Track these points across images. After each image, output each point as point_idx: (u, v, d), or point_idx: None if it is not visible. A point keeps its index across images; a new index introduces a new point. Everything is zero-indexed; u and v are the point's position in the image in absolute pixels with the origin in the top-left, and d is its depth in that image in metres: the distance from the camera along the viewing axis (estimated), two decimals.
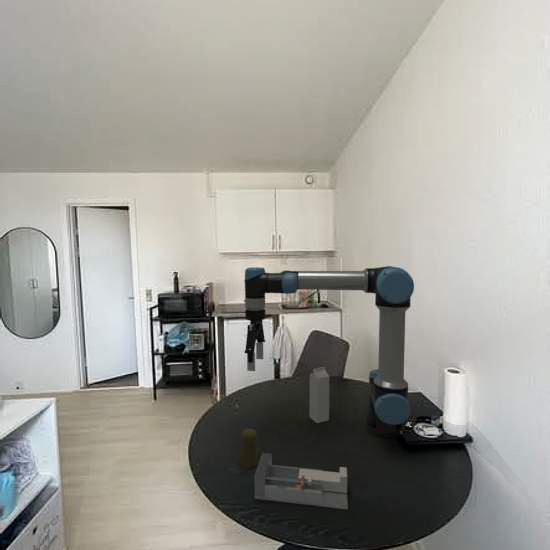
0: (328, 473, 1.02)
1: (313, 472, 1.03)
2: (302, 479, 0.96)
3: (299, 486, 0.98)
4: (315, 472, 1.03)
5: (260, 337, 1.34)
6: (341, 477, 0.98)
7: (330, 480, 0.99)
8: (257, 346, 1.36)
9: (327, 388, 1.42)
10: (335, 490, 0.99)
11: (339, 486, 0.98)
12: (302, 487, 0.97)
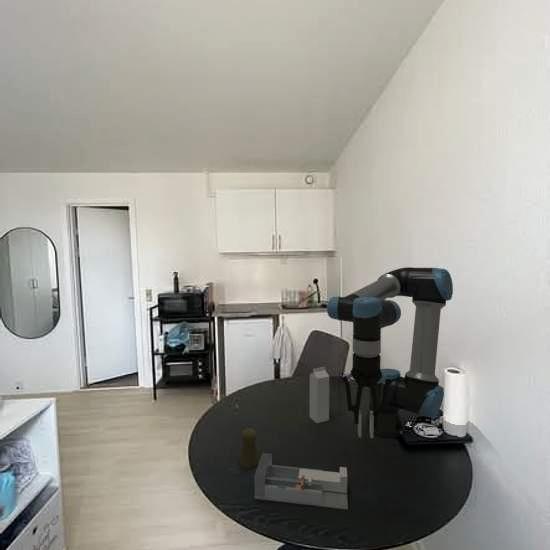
0: (328, 473, 1.02)
1: (313, 472, 1.03)
2: (302, 479, 0.96)
3: (299, 486, 0.98)
4: (315, 472, 1.03)
5: (372, 402, 0.95)
6: (341, 477, 0.98)
7: (330, 480, 0.99)
8: None
9: (327, 388, 1.42)
10: (335, 490, 0.99)
11: (339, 486, 0.98)
12: (302, 487, 0.97)
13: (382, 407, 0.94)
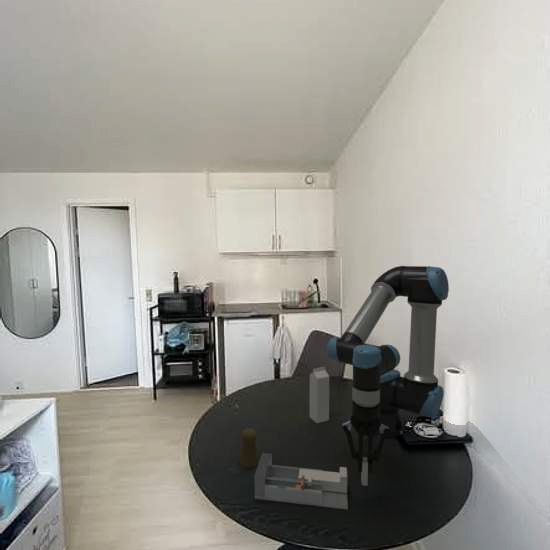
0: (328, 473, 1.02)
1: (313, 472, 1.03)
2: (302, 479, 0.96)
3: (299, 486, 0.98)
4: (315, 472, 1.03)
5: (367, 450, 0.96)
6: (341, 477, 0.98)
7: (330, 480, 0.99)
8: None
9: (327, 388, 1.42)
10: (335, 490, 0.99)
11: (339, 486, 0.98)
12: (302, 487, 0.97)
13: (377, 455, 0.95)
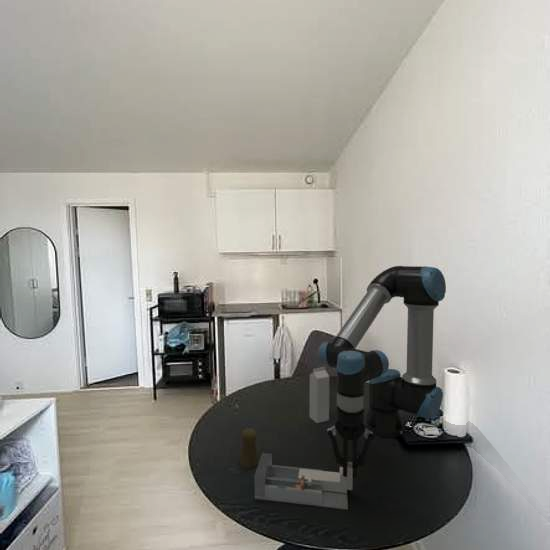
0: (328, 473, 1.02)
1: (313, 472, 1.03)
2: (302, 479, 0.96)
3: (299, 486, 0.98)
4: (315, 472, 1.03)
5: (352, 454, 0.97)
6: (341, 477, 0.98)
7: (330, 480, 0.99)
8: None
9: (327, 388, 1.42)
10: (335, 490, 0.99)
11: (339, 486, 0.98)
12: (302, 487, 0.97)
13: (361, 460, 0.96)
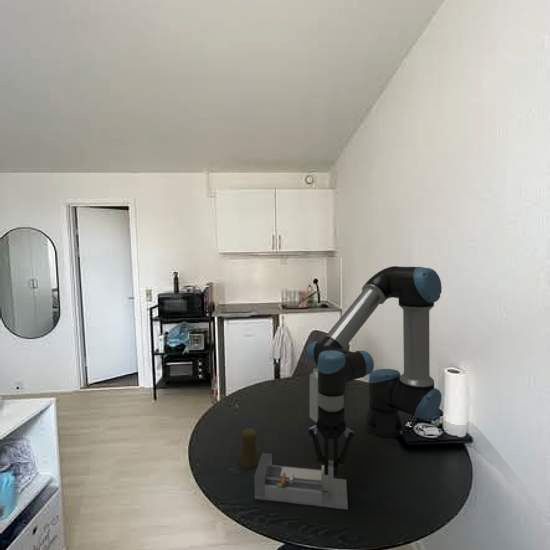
0: (310, 471, 1.03)
1: (295, 470, 1.04)
2: (283, 477, 0.97)
3: (280, 484, 0.99)
4: (297, 470, 1.04)
5: (333, 453, 0.98)
6: (322, 475, 0.99)
7: (312, 478, 1.00)
8: None
9: None
10: None
11: None
12: (283, 485, 0.97)
13: (342, 459, 0.97)
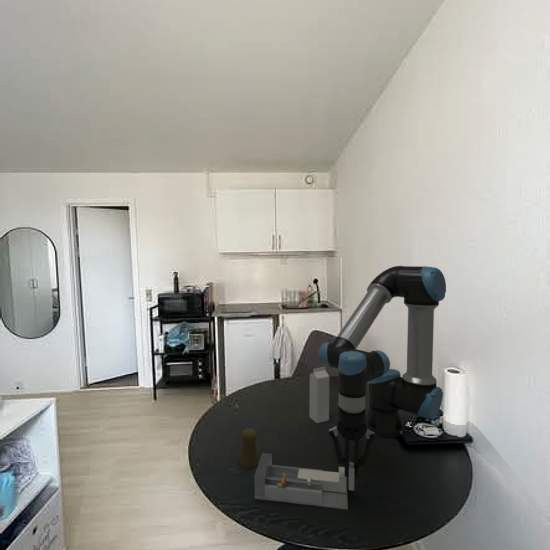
0: (327, 473, 1.02)
1: (312, 472, 1.03)
2: (283, 477, 0.97)
3: (280, 484, 0.99)
4: (314, 471, 1.03)
5: (354, 455, 0.97)
6: (340, 477, 0.98)
7: (329, 480, 0.99)
8: None
9: (327, 388, 1.42)
10: (334, 490, 0.99)
11: (338, 486, 0.98)
12: (283, 485, 0.97)
13: (363, 461, 0.96)
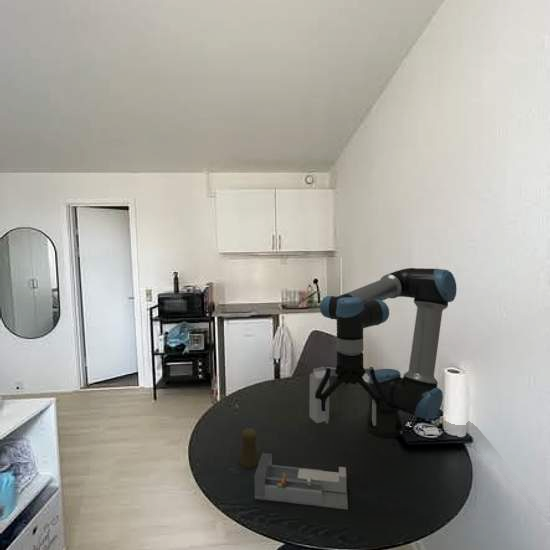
0: (327, 473, 1.02)
1: (312, 472, 1.03)
2: (283, 477, 0.97)
3: (280, 484, 0.99)
4: (314, 471, 1.03)
5: None
6: (340, 477, 0.98)
7: (329, 480, 0.99)
8: (372, 405, 1.00)
9: None
10: (334, 490, 0.99)
11: (338, 486, 0.98)
12: (283, 485, 0.97)
13: (382, 396, 0.98)
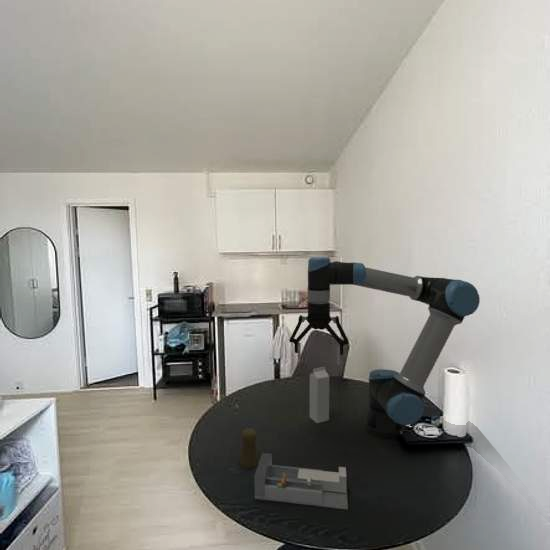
0: (327, 473, 1.02)
1: (312, 472, 1.03)
2: (283, 477, 0.97)
3: (280, 484, 0.99)
4: (314, 471, 1.03)
5: (334, 338, 1.17)
6: (340, 477, 0.98)
7: (329, 480, 0.99)
8: None
9: (327, 388, 1.42)
10: (334, 490, 0.99)
11: (338, 486, 0.98)
12: (283, 485, 0.97)
13: (345, 340, 1.16)
